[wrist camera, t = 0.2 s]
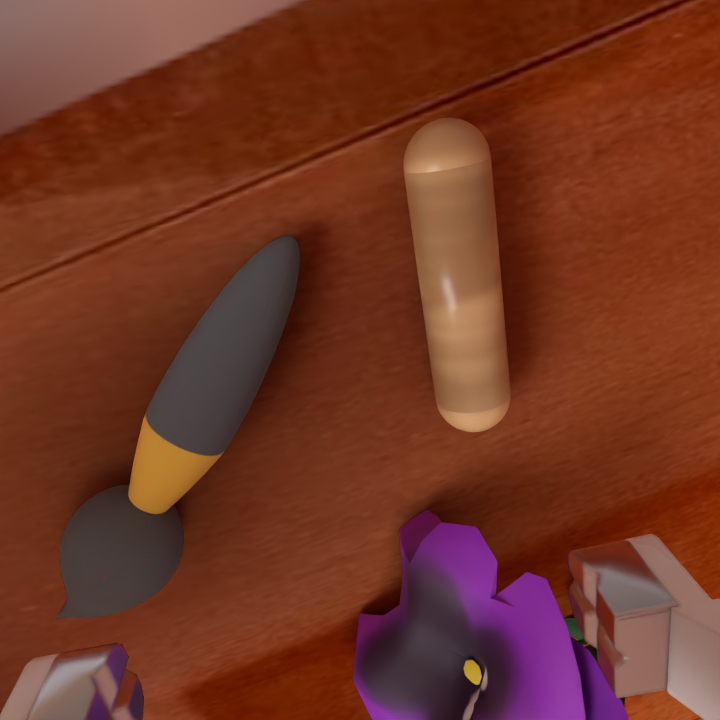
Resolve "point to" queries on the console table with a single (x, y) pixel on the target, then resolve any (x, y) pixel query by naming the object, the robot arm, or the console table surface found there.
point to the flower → (474, 641)
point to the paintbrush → (179, 441)
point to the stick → (459, 271)
